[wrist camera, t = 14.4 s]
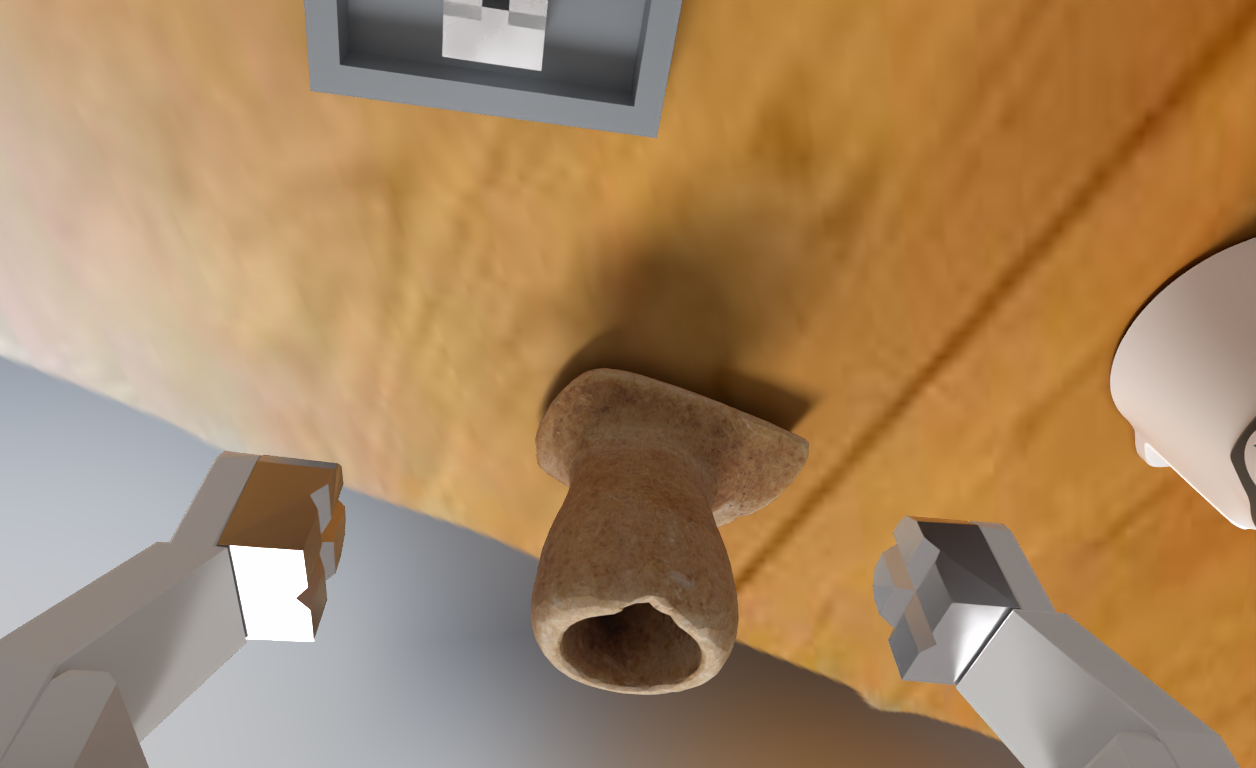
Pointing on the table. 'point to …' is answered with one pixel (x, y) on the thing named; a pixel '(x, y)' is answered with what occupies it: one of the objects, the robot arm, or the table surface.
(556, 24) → the utensil tray
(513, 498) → the table surface
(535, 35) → the steel tongs
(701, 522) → the stone cup
